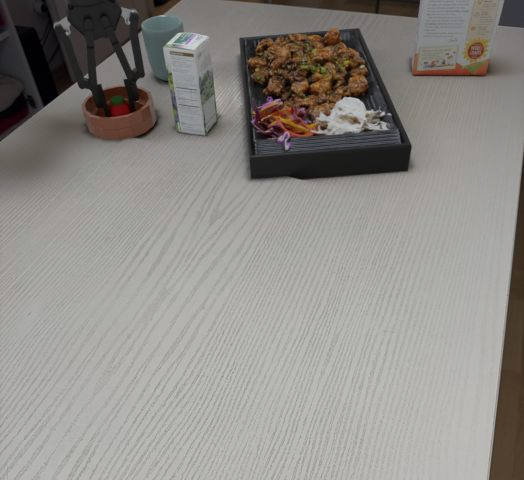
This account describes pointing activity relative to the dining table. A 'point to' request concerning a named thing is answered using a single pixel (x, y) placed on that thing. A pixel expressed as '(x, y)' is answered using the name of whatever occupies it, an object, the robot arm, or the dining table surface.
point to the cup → (159, 40)
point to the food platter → (318, 107)
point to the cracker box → (455, 36)
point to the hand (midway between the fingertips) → (122, 120)
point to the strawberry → (119, 107)
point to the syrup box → (191, 82)
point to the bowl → (121, 124)
